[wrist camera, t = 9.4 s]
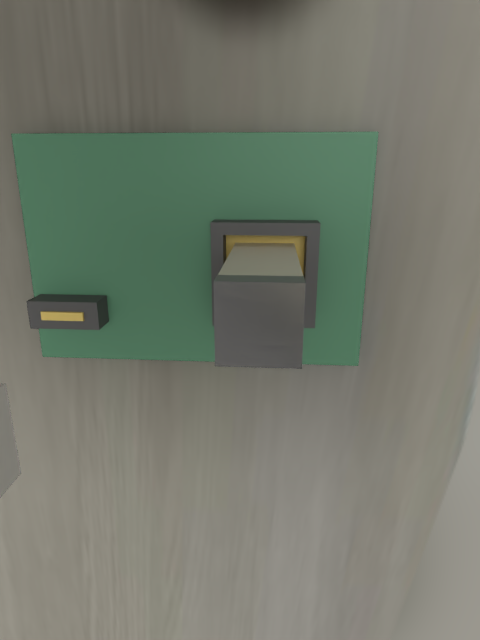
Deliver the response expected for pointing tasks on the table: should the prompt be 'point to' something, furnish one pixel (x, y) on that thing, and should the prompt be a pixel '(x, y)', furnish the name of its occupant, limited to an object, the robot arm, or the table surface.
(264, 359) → the plug
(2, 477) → the robot arm
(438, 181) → the table surface
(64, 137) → the board
